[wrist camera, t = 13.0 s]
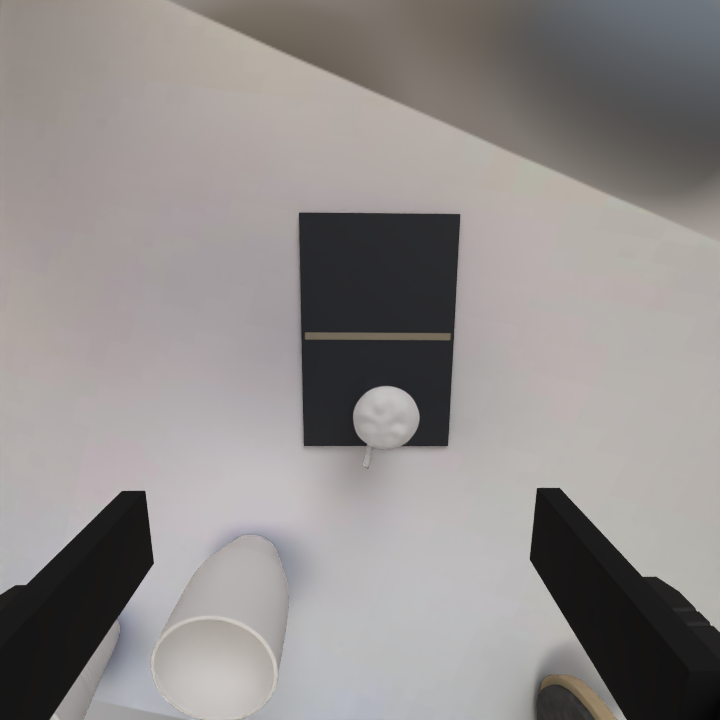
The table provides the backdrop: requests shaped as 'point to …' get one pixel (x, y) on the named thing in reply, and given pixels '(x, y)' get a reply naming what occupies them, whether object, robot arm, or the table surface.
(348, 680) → the table surface
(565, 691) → the desk lamp
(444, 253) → the desk mat
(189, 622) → the mug
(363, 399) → the milkshake
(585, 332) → the table surface
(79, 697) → the cup
